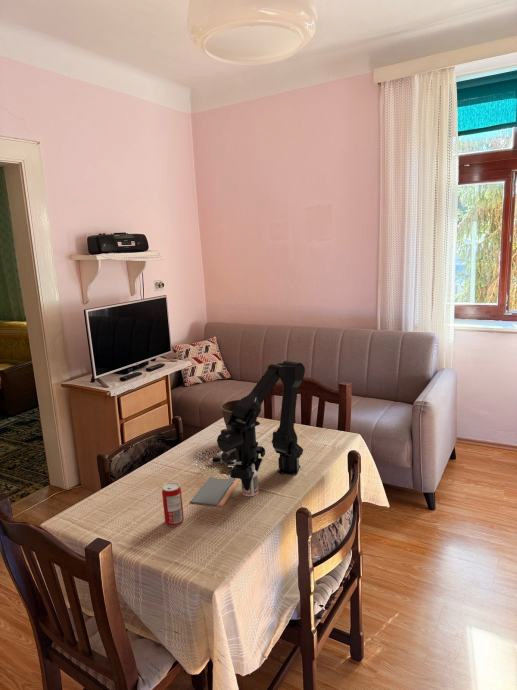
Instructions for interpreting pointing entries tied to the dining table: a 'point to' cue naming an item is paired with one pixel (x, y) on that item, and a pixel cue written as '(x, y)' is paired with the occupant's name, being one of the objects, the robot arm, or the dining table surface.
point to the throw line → (229, 492)
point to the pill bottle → (252, 484)
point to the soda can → (172, 504)
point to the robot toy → (218, 459)
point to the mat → (212, 491)
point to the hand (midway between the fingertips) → (249, 485)
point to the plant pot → (229, 411)
